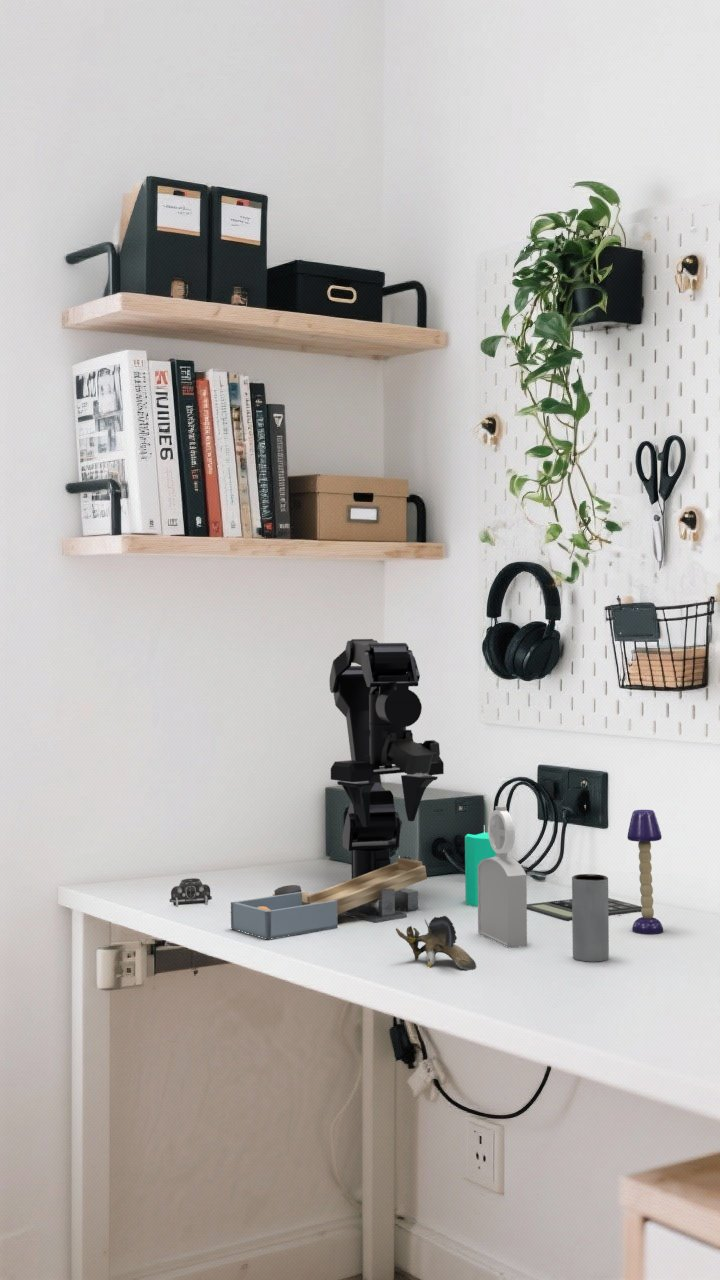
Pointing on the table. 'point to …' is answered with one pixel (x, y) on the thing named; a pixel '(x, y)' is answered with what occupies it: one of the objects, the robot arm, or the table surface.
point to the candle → (475, 863)
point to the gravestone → (502, 886)
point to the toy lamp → (645, 867)
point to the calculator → (564, 908)
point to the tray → (282, 916)
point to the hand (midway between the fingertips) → (388, 823)
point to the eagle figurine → (438, 942)
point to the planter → (590, 917)
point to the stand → (386, 905)
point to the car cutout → (190, 892)
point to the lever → (364, 885)
